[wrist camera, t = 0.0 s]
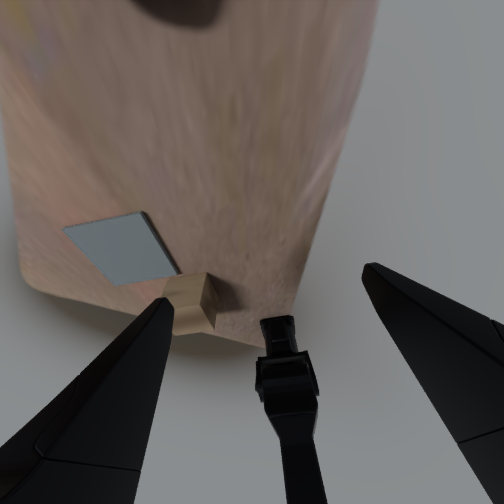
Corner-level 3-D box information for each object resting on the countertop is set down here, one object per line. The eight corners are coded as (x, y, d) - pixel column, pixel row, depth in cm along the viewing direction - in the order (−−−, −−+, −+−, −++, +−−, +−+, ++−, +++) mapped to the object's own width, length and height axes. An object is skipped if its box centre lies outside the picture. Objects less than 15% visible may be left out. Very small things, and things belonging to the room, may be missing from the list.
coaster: (178, 272, 27) (177, 274, 27) (116, 283, 28) (114, 285, 28) (142, 210, 21) (139, 213, 21) (64, 226, 22) (61, 229, 22)
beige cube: (218, 297, 31) (214, 330, 27) (185, 302, 32) (174, 335, 27) (206, 271, 28) (199, 304, 23) (169, 278, 28) (154, 311, 24)
